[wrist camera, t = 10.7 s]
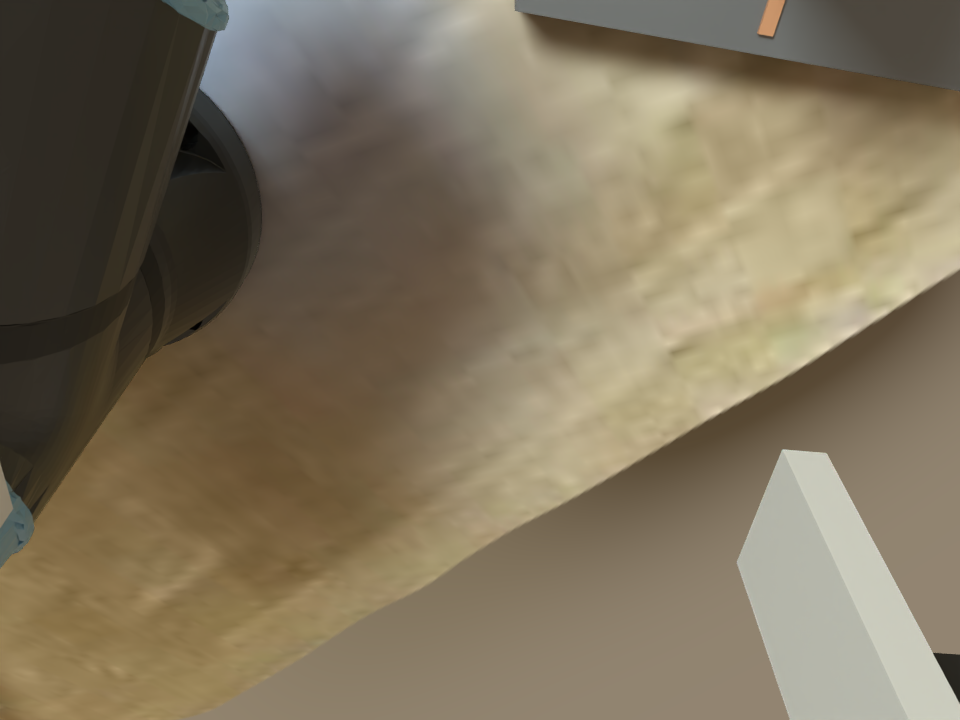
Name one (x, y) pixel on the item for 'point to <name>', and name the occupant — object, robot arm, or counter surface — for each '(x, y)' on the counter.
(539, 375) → the counter surface
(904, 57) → the dial plate
